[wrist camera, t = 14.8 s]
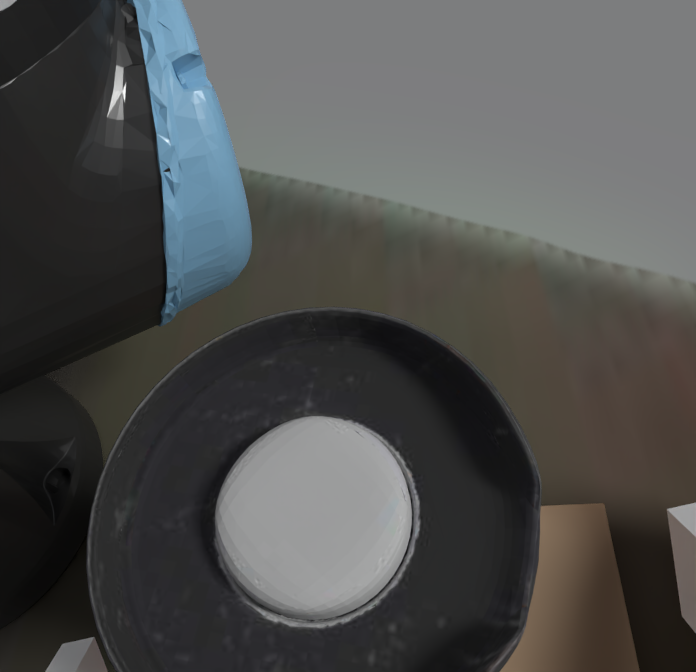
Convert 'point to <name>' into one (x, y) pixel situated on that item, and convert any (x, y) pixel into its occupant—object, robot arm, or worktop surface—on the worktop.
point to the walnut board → (576, 599)
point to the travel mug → (317, 507)
